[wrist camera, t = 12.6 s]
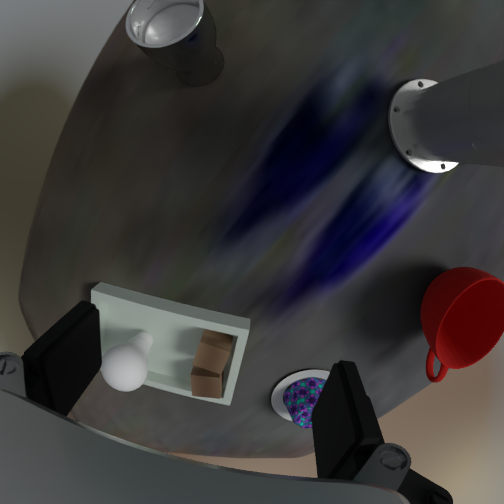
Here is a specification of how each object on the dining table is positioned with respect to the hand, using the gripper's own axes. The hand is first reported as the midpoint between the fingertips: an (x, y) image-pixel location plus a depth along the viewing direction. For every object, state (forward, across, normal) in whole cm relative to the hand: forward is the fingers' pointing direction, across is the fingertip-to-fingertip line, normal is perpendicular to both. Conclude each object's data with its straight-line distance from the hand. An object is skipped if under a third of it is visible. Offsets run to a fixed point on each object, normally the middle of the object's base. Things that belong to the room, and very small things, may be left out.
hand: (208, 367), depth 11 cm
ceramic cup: (+28, -30, +6) cm, 41 cm away
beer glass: (+28, +10, -18) cm, 35 cm away
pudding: (+28, -15, +25) cm, 41 cm away
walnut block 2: (+27, +2, +23) cm, 35 cm away
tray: (+27, +8, +20) cm, 35 cm away
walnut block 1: (+27, +1, +17) cm, 32 cm away
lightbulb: (+27, +11, +19) cm, 35 cm away
